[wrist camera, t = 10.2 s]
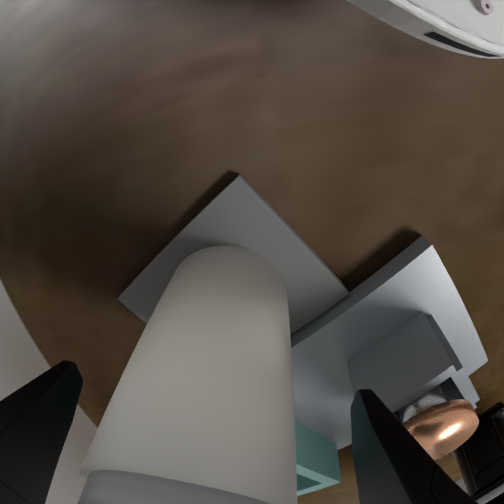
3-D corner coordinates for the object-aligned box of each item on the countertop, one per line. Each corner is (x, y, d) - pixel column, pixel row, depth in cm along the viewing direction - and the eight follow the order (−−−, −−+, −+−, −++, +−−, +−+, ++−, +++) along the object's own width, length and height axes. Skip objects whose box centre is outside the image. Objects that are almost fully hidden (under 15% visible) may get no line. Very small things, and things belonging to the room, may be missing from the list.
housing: (481, 350, 15) (512, 401, 11) (246, 471, 21) (242, 517, 17) (422, 235, 12) (475, 291, 8) (145, 418, 18) (127, 471, 14)
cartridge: (282, 346, 14) (283, 581, 5) (176, 339, 14) (107, 553, 5) (292, 248, 12) (320, 569, 2) (164, 242, 12) (13, 498, 3)
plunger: (449, 359, 13) (485, 430, 9) (389, 398, 15) (409, 473, 10) (424, 318, 12) (468, 401, 8) (353, 366, 14) (374, 455, 9)
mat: (347, 288, 13) (349, 293, 13) (220, 373, 16) (219, 379, 15) (239, 173, 11) (238, 176, 11) (120, 294, 14) (117, 298, 14)
